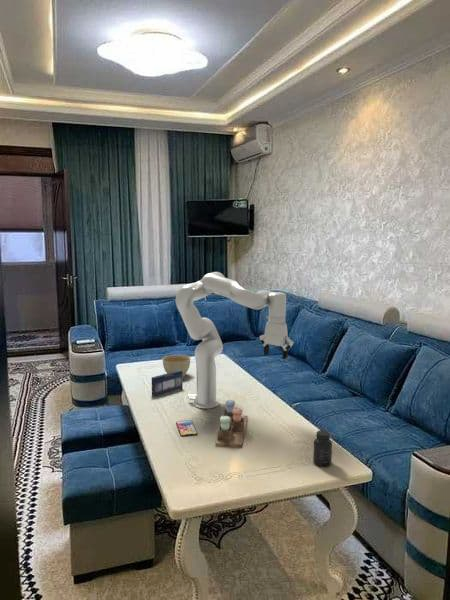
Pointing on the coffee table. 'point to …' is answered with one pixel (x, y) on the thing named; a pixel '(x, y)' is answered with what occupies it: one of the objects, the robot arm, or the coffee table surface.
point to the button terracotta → (237, 414)
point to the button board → (232, 432)
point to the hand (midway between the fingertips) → (275, 356)
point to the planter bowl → (176, 363)
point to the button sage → (225, 423)
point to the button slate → (229, 406)
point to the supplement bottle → (322, 449)
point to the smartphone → (186, 428)
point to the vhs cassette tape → (167, 383)
